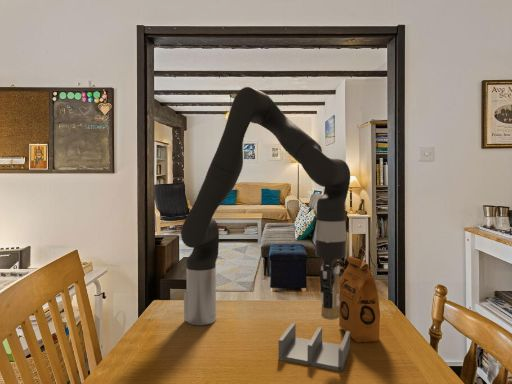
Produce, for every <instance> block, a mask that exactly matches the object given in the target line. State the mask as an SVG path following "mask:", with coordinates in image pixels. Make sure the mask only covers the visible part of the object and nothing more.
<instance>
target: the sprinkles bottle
mask: <svg viewBox="0 0 512 384" xmlns="http://www.w3.org/2000/svg"><path fill="white" fill-rule="evenodd" d="M335 266H338V267H337V273H336V283H335V284H334V285H333V307H332V308H331V309H329V308H324V307H323V293H321V317H322V318H323V319H325V320H328V321H329V320H330V321H334V320H338V319H339V303H340V302H339V292H340V288H339V287H340V280H339V279H340V273H341V271H340V268H341V267H340V264H339V265H335ZM333 271H334V270H333ZM332 280H333V278H332V279H331V281H332ZM325 288H329V286H328V285H326V286H325Z"/></svg>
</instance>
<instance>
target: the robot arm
mask: <svg viewBox="0 0 512 384" xmlns="http://www.w3.org/2000/svg"><path fill="white" fill-rule="evenodd" d="M232 101H233V102H232V104H231V106H230V110H229V113H228V116H227V120H226V124H225V127H224V130H223V133H222V134H221V135H222V136H221V138H220V141H219V143H218V146H217V149H216V152H215V154H214V156H213V158H212V159H211V162H210V165H209V167H208V170H207V172H206V175H205V178H204V181H203V182H202V184H201V187H200V189H199V191H198V194H197V197H196V199H195V201H194V203H193V205H192V207H191V209H190V211H189V212H188V215H187V216H186V218H185V220H184V222H183V223H182V227H181V231H180V232H181V233H180V236H181V237H180V238H181V241H182V243H183V244H184V245H185V246H186V247H189V248H192V252H191V253H190V254H189V256H188V257H187V259H186V265H185V266H186V267H185V268H186V273H185V274H186V290H185V291H184V292H183V316H184V317H183V321H184V322H186V323H188V324H190V325H192V326H208V325H210V324H213V323H214V322H216V321H217V279H216V277H217V273H216V271H217V269H216V268H217V266H216V265H217V260H218V256H219V247H220V245H219V243H220V242H219V241H220V230H219V226H218V223H217V222H216V220H215V219H214V215H215V212H216V211H217V210H218V208H219V207H220V206H221V204H222V203H223V202H224V200H225V199H226V198H227V197H228V196H229V194H230V193H231V192H232V191H233V190H234V187H235V186H236V184H237V181H238V180H239V177H240V175H241V173H242V170H243V166H244V151H243V150H244V139H245V135H246V132H248V131H247V130H248V128H249V126H250V124H251V123H252V124H257V125H259V126H260V127H263V128H265V129H266V130H268V132H270V133H271V134H273V136H274V137H276V139H277V141H278V142H279V144H280V146H281V147H282V148H283V149H284V151H285V152H287V153H288V154H289V156H290V157H292V158H293V159H294V160H295V161H297V163H299V164H300V165H301V167H302V169H303V170H304V172H305V173H306V174H307V176H308V177H309V178H310V179H311V180H312V181H313V182H314V183H315V184H317V186H320V187H323V188H324V189H323V195H321V196H320V197H319V198H318V199H317V201H316V223H315V243H314V244H315V249H314V250H315V256H316V257H317V258H319V259H323V260H322V264H321V265H320V271H319V284H320V285H319V286H320V293H321V294H322V293H323V307H324V308H329V309H331V308H332V307H333V285H334V284H335V283H336V273H337V267H338V266H335V265H339V266H340V263H341V261H340V260H341V259H344V258H345V257H346V255H347V254H346V252H347V251H346V248H347V243H346V242H347V238H346V237H347V228H346V226H347V225H346V200H347V197H348V193H349V188H350V184H351V183H350V182H351V171H350V167H349V165H348V164H347V162H346V161H345V160H343V159H340V158H330V157H328V156H327V155H325V154H324V153H323V149H322V148H323V147H322V146H321V145H320V144H319V143H318V142H317V141H316V140H315V139H313V138H312V137H311V136H310V135H309V134H307V133H306V132H305V131H304V130H302V128H300V127H299V126H297V125H296V123H294V122H293V121H292V120H290V119H289V117H288V116H286V115H285V113H283V111H282V110H281V109H280V108H279V107H278V105H277V104H276V103H275V101H273V99H272V97H270V96H269V95H268V94H267V93H265V92H263V91H261V90H258V89H256V88H254V87H251V86H244V87H242V88H241V89H239V90H238V92H237V93H236V94H235V96H234V99H233V100H232ZM333 270H334V271H333ZM332 278H333V280H332V281H331V279H332ZM326 285H328V286H329V288H325V286H326Z"/></svg>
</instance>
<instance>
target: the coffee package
mask: <svg viewBox="0 0 512 384" xmlns="http://www.w3.org/2000/svg"><path fill="white" fill-rule="evenodd" d="M346 261H347V262H348V264H347V266H346V268H345V270H344V271H343V273H342V275H341V277H340V278H339V279H340V280H339V318H338V319H339V323H338V324H339V327H340V328H341V329H342V330H343V331H344V332H345V333H346V331H350V338H351V339H353V340H354V341H355V343H369V342H371V343H372V342H373V343H375V342H378V341H380V321H381V320H380V319H381V309H380V300H379V299H380V298H379V292H378V288H377V285H376V284H377V283H376V280H375V279H374V276H373V273H372V271H371V269H370V266H369V264H368V263H366V262H365V261H364V260H362V259H359V258H357V257H355V256H348V257H347V258H346Z"/></svg>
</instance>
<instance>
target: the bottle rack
mask: <svg viewBox="0 0 512 384" xmlns="http://www.w3.org/2000/svg"><path fill="white" fill-rule="evenodd" d="M296 325H297V323H296V322H291V324H290V325H289V326H288V327H287V329H286V330H285V331H284V332H283V333H282V335H281V337H280V338H279V339H278V357H277V358H278V360H279V361H285V362H290V363H296V364H301V365H306V366H310V367H316V368H321V369H327V370H331V371H336V372H343V371H344V369H345V365H346V362H347V360H348V358H349V353H350V351H351V337H350V331H346V332H345V334H344V336H343V338H342V341H341V342H340V344H338V343H332V342H326V341H323V327H322V326H318V327H317V329H316V330H315V332H314V334H313V335H312V337H311V338H310V339H308V338H302V337H297V336H296V332H297V331H296V329H297V326H296Z"/></svg>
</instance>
